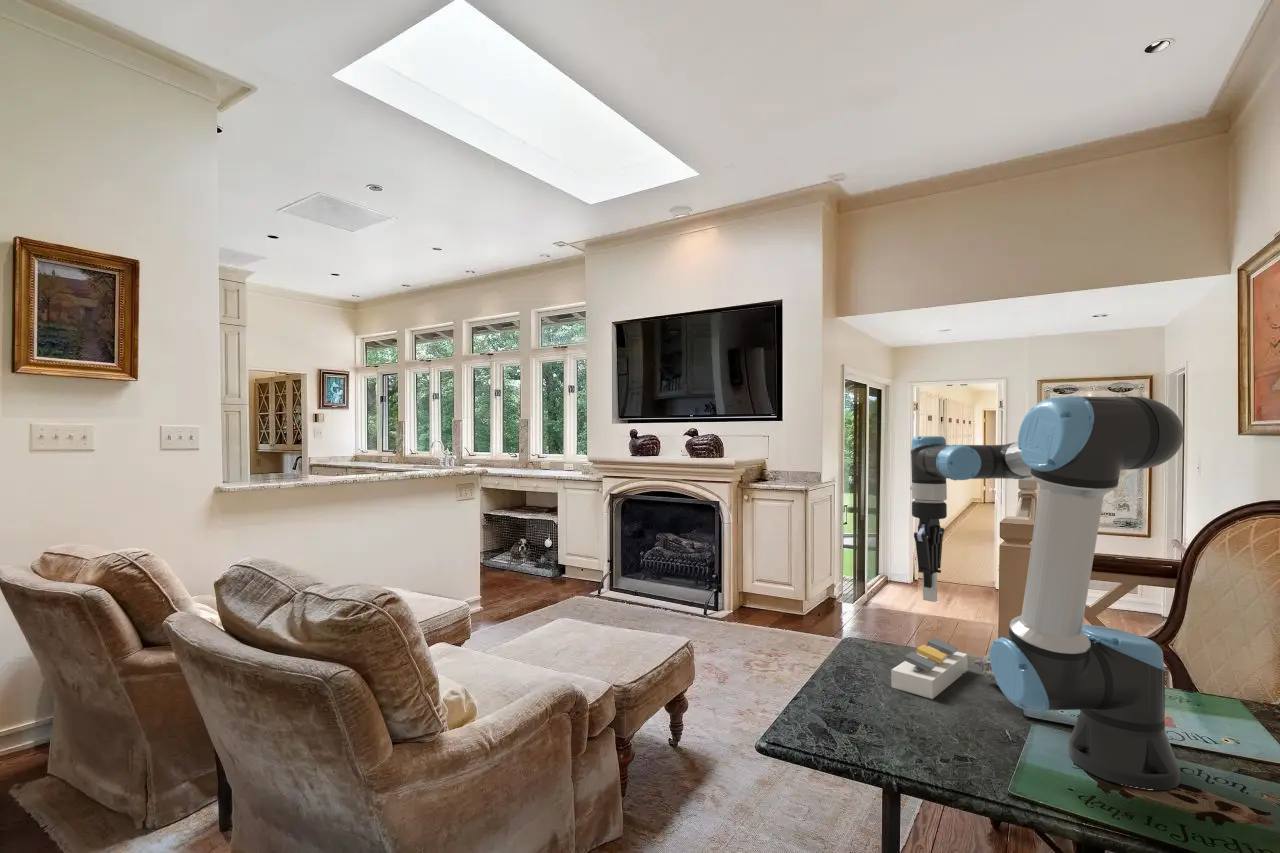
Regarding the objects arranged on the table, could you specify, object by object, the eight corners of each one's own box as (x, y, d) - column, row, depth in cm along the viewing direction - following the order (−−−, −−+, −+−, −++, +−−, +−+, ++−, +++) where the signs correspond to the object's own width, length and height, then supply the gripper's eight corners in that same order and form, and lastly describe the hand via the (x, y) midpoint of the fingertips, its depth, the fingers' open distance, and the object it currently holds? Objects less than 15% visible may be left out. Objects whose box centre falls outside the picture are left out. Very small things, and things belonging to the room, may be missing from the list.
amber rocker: (946, 659, 145) (947, 654, 145) (940, 663, 142) (941, 659, 142) (922, 648, 149) (923, 644, 149) (915, 652, 146) (916, 648, 146)
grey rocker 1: (935, 667, 140) (936, 662, 140) (928, 671, 137) (929, 667, 137) (910, 655, 144) (911, 651, 144) (903, 660, 141) (904, 655, 141)
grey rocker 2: (956, 651, 150) (957, 647, 150) (950, 655, 147) (951, 651, 147) (933, 641, 154) (934, 637, 154) (927, 645, 151) (928, 641, 151)
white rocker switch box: (974, 665, 154) (973, 644, 154) (932, 699, 134) (932, 675, 134) (936, 656, 160) (936, 636, 160) (891, 687, 141) (891, 664, 141)
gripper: (923, 497, 153) (924, 592, 153) (901, 501, 144) (902, 602, 144) (955, 499, 148) (956, 598, 148) (935, 504, 139) (936, 609, 139)
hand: (930, 600), depth 146 cm, fingers closed
